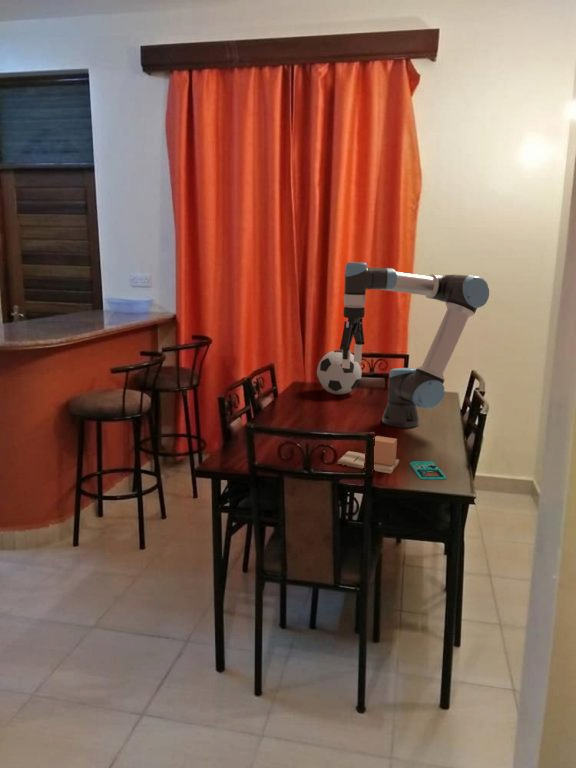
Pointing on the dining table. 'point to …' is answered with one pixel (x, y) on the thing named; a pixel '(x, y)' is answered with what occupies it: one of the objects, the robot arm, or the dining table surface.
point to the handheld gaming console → (426, 466)
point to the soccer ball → (338, 373)
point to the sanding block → (385, 451)
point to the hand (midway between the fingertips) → (351, 365)
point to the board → (359, 459)
